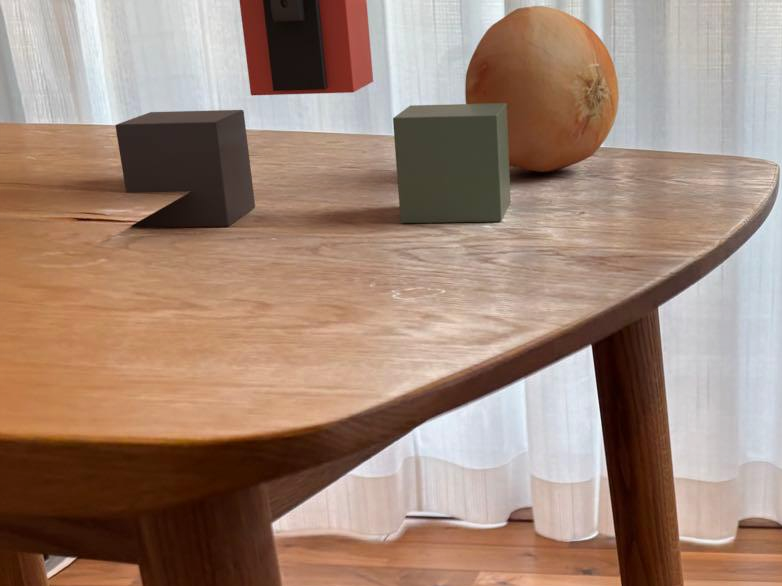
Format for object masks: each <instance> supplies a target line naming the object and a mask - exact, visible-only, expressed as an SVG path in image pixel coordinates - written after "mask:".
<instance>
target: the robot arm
mask: <svg viewBox="0 0 782 586" xmlns="http://www.w3.org/2000/svg"><path fill="white" fill-rule="evenodd" d="M263 6H264V15H265V24H266V32H267V41H268V50H269V58H270V67H271V76H272V85H273V91H290V90H323V89H326V88H328V87H327V77H326V67H325V57H324V46H323V36H322V26H321V16H320V6H319V0H263Z"/></svg>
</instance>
